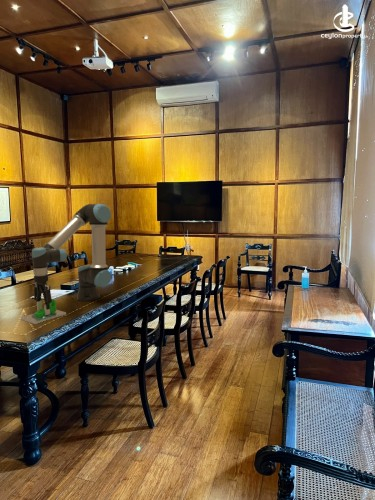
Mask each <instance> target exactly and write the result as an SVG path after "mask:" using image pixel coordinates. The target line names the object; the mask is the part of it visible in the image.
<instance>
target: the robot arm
mask: <svg viewBox="0 0 375 500" xmlns="http://www.w3.org/2000/svg"><path fill="white" fill-rule="evenodd" d="M111 211H112V210H111V209H110V207H108V206H107V205H106V204H102V203H89V204H86V205H83V206H82V207H81V208H80V209H78V210H76V212H75V213H74V214H73V216H72V218H71V220H69V221H67V223H66V225H64V226H63V227H62V228H61V229H60V230H59V231H57V233H56V234H55V235H54V236H53V237H52V238H51V239H50V240H49V241H48V242H47V243H46V244H45V245H44V246H41V247H34V248H32V250H31V258H32V268H33V269H32V270H33V275H34V276H33V281H34V283H33V284H32V285H33V299H34V301H35V302H36V307H37V311H39V310H42V309H44V308H45V315H48V314H50V305H49V304H50V303H52V299H53V298H52V294H51V285H48V281H49V275H48V273H49V270H48V264H52V263H58V262H59V263H61V262H64V261H67V257H68V254H67V250H66V249H64V248H62V247H63V246H64V245H65V244H66V243H67V242H68V240H69V239H71V238H72V236H74V235H75V233H76V232H77V231H78V230H80V229H81V228H82V227H85V226H86V224H88V223H89V226H90V227H91V256H92V257H91V261H92V262H91V264H88V265H82V266H81V265H80V266H78V268H77V275H78V276H77V277H78V291H77V294H76V300H78V301H80V302H90V301H91V302H92V301H95V300H99V299H100V298H101V296H100V293H99V289H98V288H105V287H107V286H108V285H109V284H110V283H111V280H112V278H113V277H112V273H111V271H110V270H109V265H107V264H106V261H107V260H106V259H107V258H106V255H107V253H106V250H107V249H106V228H107V226H108V225H109V224H108V222H109V221H110V219H111V218H112V213H111ZM42 297H43V299H42ZM43 302H44V304H43ZM43 305H44V308H43Z"/></svg>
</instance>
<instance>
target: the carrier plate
mask: <svg viewBox="0 0 375 500" xmlns="http://www.w3.org/2000/svg"><path fill="white" fill-rule="evenodd" d="M65 315H67V312H65V311H62V310H59V309H56V312H53V313H51V314H48V315H46V316H43V317H36V316H35V313H31V314H28V315H26V316H22V317H20V319H21V320H22V321H25V322H27V323H30V324H33V325H37V324H39V323H42V322H43V321H44V322H46V320H47V321H50V320H52V319H55V318H60V317H62V316H65Z"/></svg>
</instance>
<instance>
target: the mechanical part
mask: <svg viewBox="0 0 375 500" xmlns="http://www.w3.org/2000/svg"><path fill="white" fill-rule="evenodd" d="M51 299H52V303H50V304H49V305H50V314H51V313H53V312H56V310H57V304H56V303H57V302H56V300H55V299H53V298H51ZM34 314H35V316H36V317H43V316H46V315H45V308H42V310H39V311H38V310H37V311H34Z"/></svg>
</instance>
